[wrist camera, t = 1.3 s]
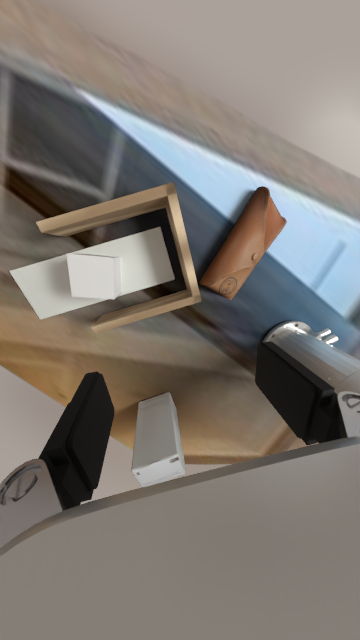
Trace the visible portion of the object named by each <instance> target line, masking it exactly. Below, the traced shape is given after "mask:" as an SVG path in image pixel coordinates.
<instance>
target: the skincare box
mask: <svg viewBox="0 0 360 640" xmlns="http://www.w3.org/2000/svg"><path fill="white" fill-rule="evenodd" d="M131 471H132V473H133V474H134V476H135V477H136V478H137V480H138V481H139V483H140V485H141V486H142V487H146V486H150V485H154V484H158V483H162V482H164V481H167V480H170V479H172V478H175V477H178V476H181V475H183V474H186V470H185V463H184V456H183V450H182V444H181V437H180V431H179V424H178V418H177V411H176V407H175V404H174V402H173V399H172V397H171V395H170V392H167V393H165V394H162V395H159V396H156V397H153V398H150V399H147V400H144V401H141V402H139V404H138V414H137V423H136V432H135V441H134V450H133V460H132V467H131Z"/></svg>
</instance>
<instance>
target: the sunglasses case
mask: <svg viewBox="0 0 360 640" xmlns="http://www.w3.org/2000/svg"><path fill="white" fill-rule="evenodd" d="M285 224H286V220H285V218H283V217H282V216H281V215H280V213H279V212H278V210H277V208H276V206H275V204H274V202H273V200H272V198H271V197H270V192H269V189H268V188H266V187H259V188H257V190H256V191H255V193H254V194H253V196H252V197H251V199H250V200H249V202H248V204H247V205H246V207H245V209H244V211H243V212H242V214H241V215H240V217H239V219H238V220H237V222H236V223H235V225H234V227H233V228H232V230H231V232H230V233H229V235H228V237H227V238H226V240H225V242H224V243H223V245H222V246H221V248H220V249H219V251H218V253H217V254H216V256H215V258H214V259H213V261H212V262H211V264H210V266H209V267H208V269H207V270H206V272H205V273H204V275H203V277H202V278H201V280H200V282H199V284H201V285H203V286H205V287H207V288H209V289H211V290H213V291H214V292H216V293H218V294H219V295H221V296H223V297H226V298H228V299H229V300H231V299H232V298H233V297H234V296H235V295H236V293H237V292H238V290H239V289H240V288H241V286H242V285H243V283H244V282H245V280H246V279H247V277H248V276H249V274H250V273H251V272H252V270H253V269H254V267H255V266H256V264H257V263H258V262H259V260H260V259H261V257H262V256H263V255H264V253H265V252H266V250H267V249H268V248H269V246H270V245H271V244H272V242H273V241H274V240H275V238H276V237H277V235H278V234H279V233H280V232H281V230H282V229H283V227H284V226H285Z"/></svg>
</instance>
